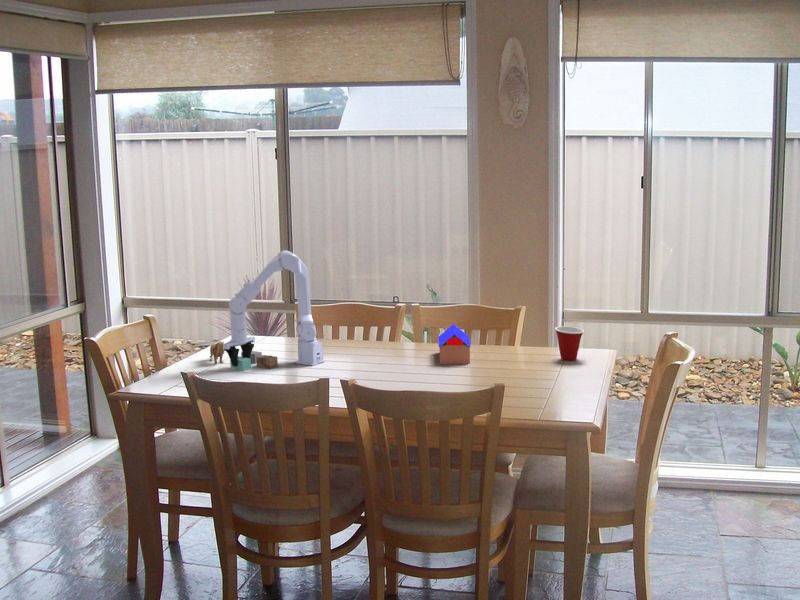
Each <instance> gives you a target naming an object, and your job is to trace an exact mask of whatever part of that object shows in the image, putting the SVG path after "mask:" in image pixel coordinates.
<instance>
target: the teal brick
mask: <svg viewBox="0 0 800 600" xmlns="http://www.w3.org/2000/svg"><path fill="white" fill-rule="evenodd" d="M229 363H230V369H231V370H236V371H238V370H239V371H242V372H245V371H247V370H251V369H252V363H251V359H249V358H244V357H241V356H238V366H232V363H231V360H230V359H229ZM244 370H245V371H244Z"/></svg>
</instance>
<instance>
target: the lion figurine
mask: <svg viewBox="0 0 800 600" xmlns="http://www.w3.org/2000/svg"><path fill="white" fill-rule="evenodd" d="M224 344H225V342H224V341H218V342H216V343H212V344H211V346H210V349H209V352H210V353H209V354H210V356H209V358H210V359H209V362H213V361H214V363H213V365H218V359H219V363H220V364H224V363H225V362H224V361H223V355H225V352H226V350H225V349H224Z"/></svg>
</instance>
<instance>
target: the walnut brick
mask: <svg viewBox="0 0 800 600" xmlns="http://www.w3.org/2000/svg"><path fill="white" fill-rule="evenodd" d="M256 361H257V364H256V368H261V369H267V370H268V369H269V370H271V369H275V368H278V367H279V366H278V365H279V363H278V362H279V361H278V356H273V355H266V354H262V356H258V357H256Z"/></svg>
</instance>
